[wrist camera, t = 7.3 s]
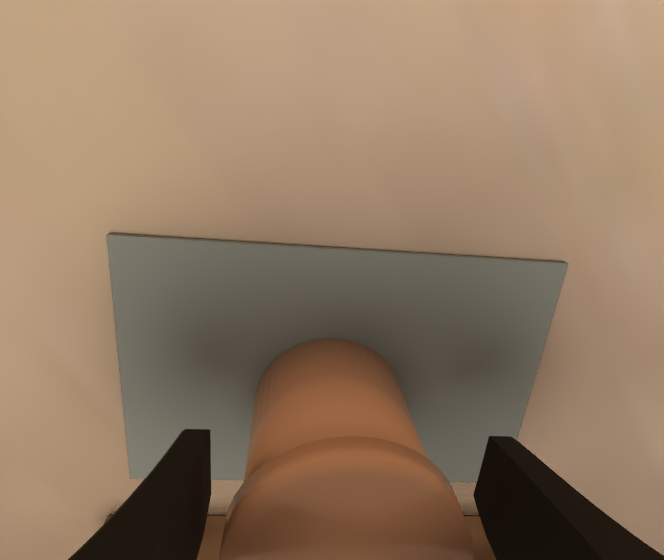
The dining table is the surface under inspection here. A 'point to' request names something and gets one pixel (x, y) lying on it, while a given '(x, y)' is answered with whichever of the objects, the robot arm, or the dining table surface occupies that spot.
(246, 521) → the terracotta pot
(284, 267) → the rubber mat
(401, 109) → the dining table surface
